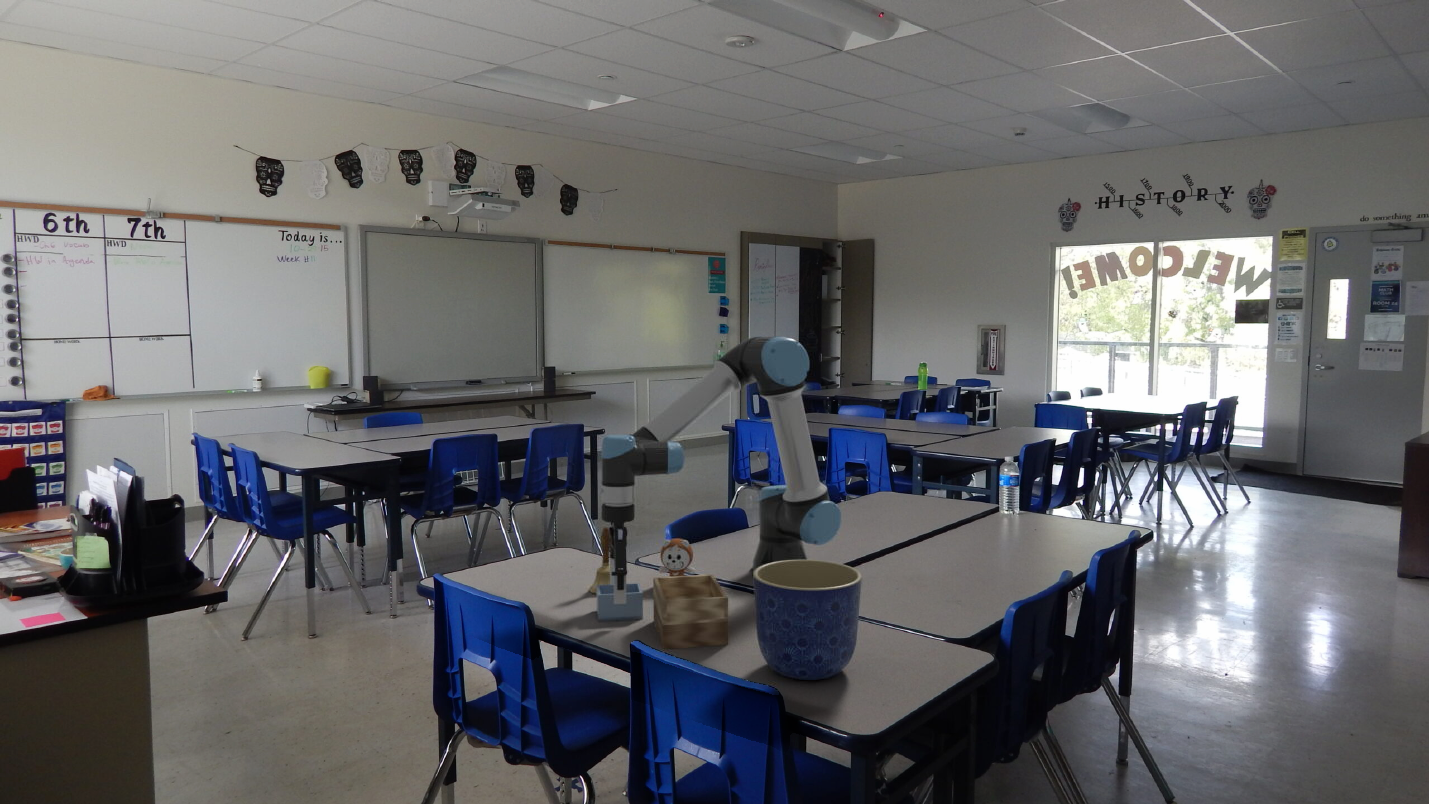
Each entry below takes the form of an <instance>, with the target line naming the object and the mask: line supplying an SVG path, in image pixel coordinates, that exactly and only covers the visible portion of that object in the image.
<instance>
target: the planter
mask: <svg viewBox="0 0 1429 804" xmlns="http://www.w3.org/2000/svg"><path fill="white" fill-rule="evenodd" d="M752 576H753V577H752V579H753V580H752V581H753V592H754V593H753V594H754V605H755V606H754V607H755V609H754V610H755V621H756V622H755V625H756V636H757V642H758V643H757V644H758V646H759V651H760V653H761V656H762V657H763V659H764V661H765V662H766V664H767V665H768V666H769V667H770V668H771V669H772V670H773V671H774V672H776V673H777V674H780V675H782V676H783V677H786V678H790V679H794V680H800V681H801V680H802V681H818V680H824V679H828V678H831V677H835V676H836V675H837V674H840V673H841V672H842V671H843V670H844V669H845V668H846V667H847V666H848V664H849V663H850V661H851V660H852V658H853V655H854V652H855V649H856V645H857V641H858V640H857V638H858V628H859V618H860V608H861V607H860V604H861V593H862V581H863V579H862V578H863V576H862V574H861V572H860V571H859V570H857V569H856V568H854V567H852V566H850V565H846V564H843V563H839V562H835V561H834V562H833V561H827V560H819V559H808V560H785V561H777V562H772V563H768V564H765V565H762V566H760V567H758V568H757V569H755V571H754V570H753V573H752Z"/></svg>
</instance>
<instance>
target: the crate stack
mask: <svg viewBox="0 0 1429 804" xmlns="http://www.w3.org/2000/svg"><path fill="white" fill-rule="evenodd" d="M652 581H653V584H652V585H653V586H652V587H653V591H652V592H653V593H652V594H653V599H652V600H653V603H652V604H653V623H654V626H655V629H656V633H657V635H658V638H659V640H660V641H659V642H660V644H661V646H662V649H663V650H665V649H666V650H670V649H683V648H685V649H686V648H697V647H699V648H700V647H714V646H727V645H729V597H728V595H727V594H726V592H725V591H724V589H723V587H722V586H721V585H720V582H719V581H718V580H717V578H716V577H715V575H714V574H699V575H694V574H693V575H684V576H675V577H669V576H659V577H657V576H656V577H653V578H652Z"/></svg>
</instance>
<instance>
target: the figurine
mask: <svg viewBox="0 0 1429 804" xmlns="http://www.w3.org/2000/svg"><path fill="white" fill-rule="evenodd" d="M662 543H663V545H662V547H661V549H660V550H661V551H660V561H661V563H662V565H663V566H660V567H659V568H658V573H660V574H663V573H664V574H665V573H667V572H668V573H669V575H668V577H675V576H685V573H687V574H691V575H694V574H695V572H696V570H695V568H694V567H690V565H691V563H692V562H693V559H694V551H693V547H692V546H691V544H690V542H689V541H688V540H686V539H683V538H678V537H677V538H671V539H665V540H664V541H663V542H662Z"/></svg>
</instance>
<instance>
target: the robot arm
mask: <svg viewBox="0 0 1429 804" xmlns="http://www.w3.org/2000/svg"><path fill="white" fill-rule="evenodd" d="M809 371H810V358H809V355H808V352H807V350H806V349H805V348H804V345H802V344H801V343H800V342H798V340H796V339H793V338H791V337H786V336H752V337H749V338H747V339H745V340H743V341H741V342H740V343H738V344H736V346H734V347H732V348H731V349H729V351H728V352H726V353H725V354H723V355H722V356H721V357H719V359H717V360H716V361H715V362H714V364H713V368H712V369H711V370H710V371H709V372H707V373H706V374H705V375H704V376H703V377H702V378H700V379H699V380H698V381H696V382H695V383H694V384H693V385H692V386H690V387H689V388H688V389H687V390H686V391H684V392H683V393H682V394H681V395H680V396H678V397H677V398H676V399H674V400H673V401H672V402H670V403H669V404H668V405H667V406H666V407H665V408H664V409H662V410H661V411H660V412H659V413H657V414H656V415H655V416H654V417H653V418H651V419H650V420H649V421H647V423H646V422H645V424H644V425H643V426H641V427H640V428H639V429H638V430H636V431H635V432H634V433H632V434H631V433H630V434H609V435H605V436H604V437H603V439H602V443H601V454H600V459H601V488H599V489H598V493H599V494H601V502H602V504H601V520H602V521H603V522H605V523H610V527H608V528H609V535H610V536H609V537H610V549H609V566H610V584H614V604H626V583H627V575H628V565H627V562H628V559H627V547H628V542H627V540H628V539H627V537H628V528H627V526H625V525H624V524H625V523H629V522H632V521H634V520H635V509H636V508H635V505H636V504H634V502H635V501H636V481H635V479H636V477H641V476H653V475H654V476H655V475H656V476H657V475H666V476H667V475H670V474H677V473H680V472H681V471H682V469H683V468H684V464H685V452H684V449H683V447H682V445H681V443H679V442H678V441H674V440H675V439H676V438H677V437H679V436H680V435H681V434H682V433H684V432H685V431H686V430H687V429H689V427H691V426H692V425H693V424H694V423H696V422H697V421H698V420H699V419H700V418H702V417H703V416H704V415H705V414H707V413H708V412H709V411H710V410H712V409H713V408H714V407H715V406H716V405H717V404H719V403H720V402H722V400H724V398H726V397H727V396H729V395H730V394H731V393H732V392H733V393H734V392H736V393H738V392H739V391H741V389H743V388H745V387H746V386H748V385H751V384H754V383H756V384H757V387H758V392H759V396H760V397H761V398H763V399H764V400H766V401H767V406H768V410H769V415H770V418H771V422H772V423H771V424H772V428H773V432H774V436H775V440H776V446H777V450H778V451H777V452H778V455H779V459H780V463H781V468H782V473H783V476H784V477H783V478H784V482H785V484H781V485H780V484H778V485H770V486H764V487H762V488H761V489H760V491H759V498H758V503H759V507H758V508H759V511H758V512H759V513H758V514H759V516H758V517H759V518H758V519H759V521H758V522H759V527H758V529H759V541H758V545H757V548H756V551H755V554H754V557H753V560H752V570H753V572H754V571H755V569H757V568H758V567H760V566H762V565H765V564H768V563H772V562H777V561H785V560H809V559H808V555H807V553H806V549H805V546H804V542H805V544H809V545H815V546H821V545H825V544H827V543H829V542H831V541H832V540H833V539H834V538H835V537H836V535H837V533H838V531H839V530H840V528H841V525H842V521H843V520H842V512H841V509H840V507H839V505H837V504H836V503H835V502H833V501H831V500H830V496H829V490H828V487H827V485H825V484H823V483H822V482H821V480H820V477H819V472H818V467H817V463H816V462H817V461H816V459H815V452H814V449H813V444H812V439H811V435H810V429H809V425H808V421H807V416H806V412H805V406H804V401H803V397H802V392H803V390H804V389H805V387H806V381H805V379H806V378H807V376H808V374H807V373H808V372H809Z"/></svg>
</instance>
